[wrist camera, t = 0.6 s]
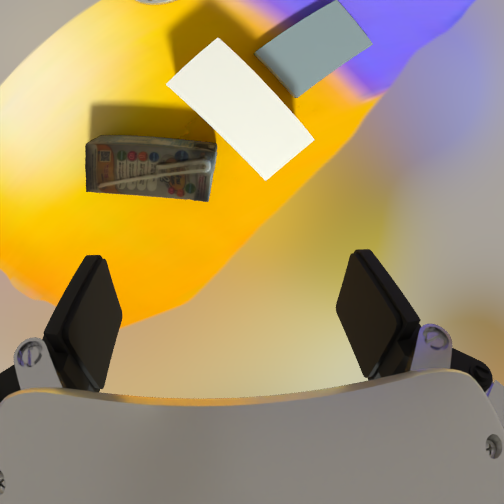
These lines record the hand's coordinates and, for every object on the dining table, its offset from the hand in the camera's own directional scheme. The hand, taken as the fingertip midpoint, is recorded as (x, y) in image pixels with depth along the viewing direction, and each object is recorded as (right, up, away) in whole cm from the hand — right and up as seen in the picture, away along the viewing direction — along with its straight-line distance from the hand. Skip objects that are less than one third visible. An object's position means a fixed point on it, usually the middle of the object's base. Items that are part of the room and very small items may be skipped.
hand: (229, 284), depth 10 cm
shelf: (-1, +22, +26) cm, 35 cm away
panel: (+10, +32, +22) cm, 40 cm away
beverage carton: (-14, +15, +30) cm, 36 cm away
